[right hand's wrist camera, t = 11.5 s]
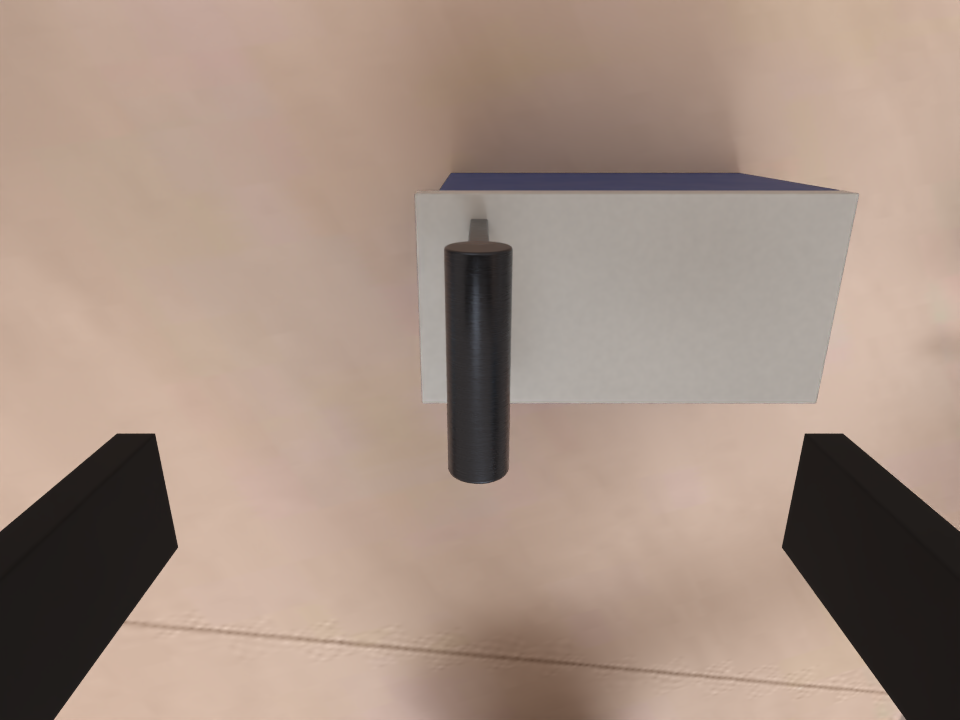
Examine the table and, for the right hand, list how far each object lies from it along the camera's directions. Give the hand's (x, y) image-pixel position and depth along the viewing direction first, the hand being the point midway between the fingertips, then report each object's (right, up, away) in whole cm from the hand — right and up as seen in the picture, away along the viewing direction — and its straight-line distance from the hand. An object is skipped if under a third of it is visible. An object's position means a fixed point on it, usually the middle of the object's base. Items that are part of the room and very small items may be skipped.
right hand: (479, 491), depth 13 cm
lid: (+6, +5, +15) cm, 17 cm away
